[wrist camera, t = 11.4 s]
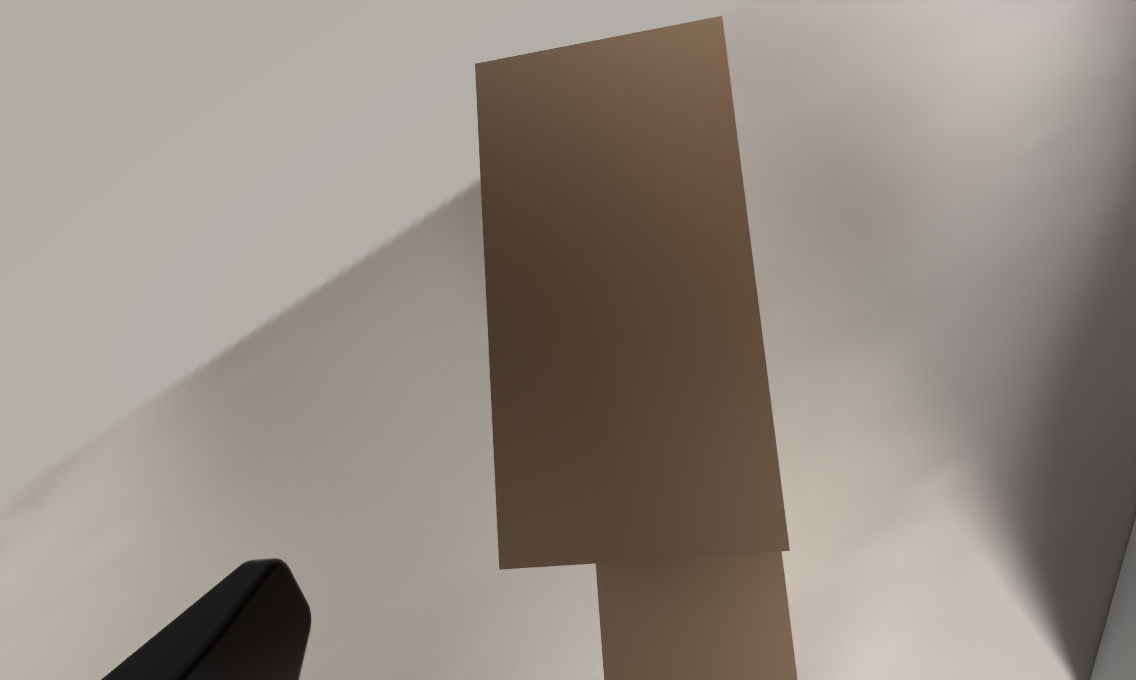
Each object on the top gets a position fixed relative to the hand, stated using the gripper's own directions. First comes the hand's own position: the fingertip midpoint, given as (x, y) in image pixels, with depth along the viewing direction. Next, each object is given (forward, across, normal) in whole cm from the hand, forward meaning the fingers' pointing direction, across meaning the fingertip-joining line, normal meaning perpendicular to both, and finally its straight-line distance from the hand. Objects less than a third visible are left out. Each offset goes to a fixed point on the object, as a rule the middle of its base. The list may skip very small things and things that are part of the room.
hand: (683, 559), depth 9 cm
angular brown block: (+8, 0, +5) cm, 10 cm away
